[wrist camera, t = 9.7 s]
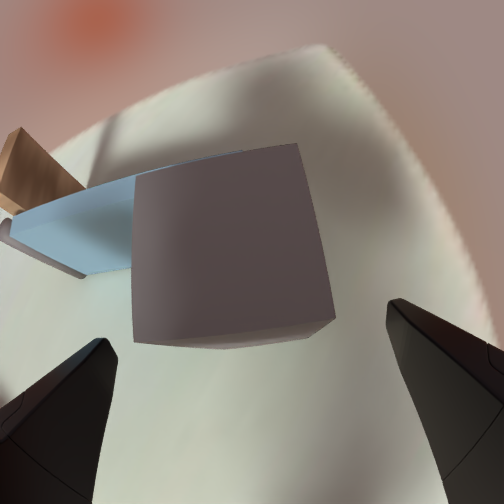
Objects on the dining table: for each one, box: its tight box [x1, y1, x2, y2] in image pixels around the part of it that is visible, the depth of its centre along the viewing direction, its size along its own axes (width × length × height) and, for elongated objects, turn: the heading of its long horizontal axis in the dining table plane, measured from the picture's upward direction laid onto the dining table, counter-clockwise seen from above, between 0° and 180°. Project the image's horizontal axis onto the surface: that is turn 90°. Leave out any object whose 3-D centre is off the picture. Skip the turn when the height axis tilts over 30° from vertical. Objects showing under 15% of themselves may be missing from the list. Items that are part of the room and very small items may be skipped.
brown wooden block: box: [0, 127, 86, 216], centre depth 17 cm, size 5×1×10 cm, turn 7°
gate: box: [0, 150, 243, 279], centre depth 16 cm, size 15×1×8 cm, turn 97°
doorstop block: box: [131, 143, 336, 349], centre depth 13 cm, size 5×5×11 cm
